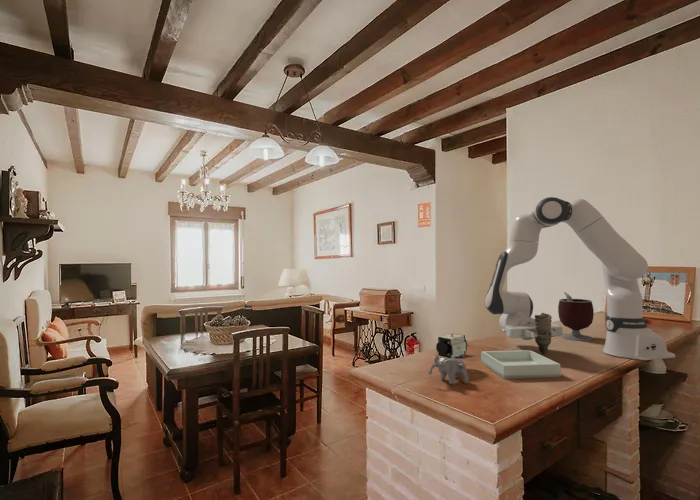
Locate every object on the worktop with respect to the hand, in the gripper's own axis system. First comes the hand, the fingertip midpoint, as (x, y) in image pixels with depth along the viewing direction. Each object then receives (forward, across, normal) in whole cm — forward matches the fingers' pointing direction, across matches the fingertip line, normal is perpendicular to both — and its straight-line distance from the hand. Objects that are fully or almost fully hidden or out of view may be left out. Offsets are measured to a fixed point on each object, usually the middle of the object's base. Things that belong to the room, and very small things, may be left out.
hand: (544, 335), depth 137 cm
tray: (+9, -14, +9) cm, 19 cm away
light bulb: (-1, 0, +7) cm, 7 cm away
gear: (-11, -30, +9) cm, 33 cm away
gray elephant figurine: (+20, -41, +9) cm, 47 cm away
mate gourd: (-36, +34, +10) cm, 51 cm away
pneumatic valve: (+6, -35, +9) cm, 37 cm away
